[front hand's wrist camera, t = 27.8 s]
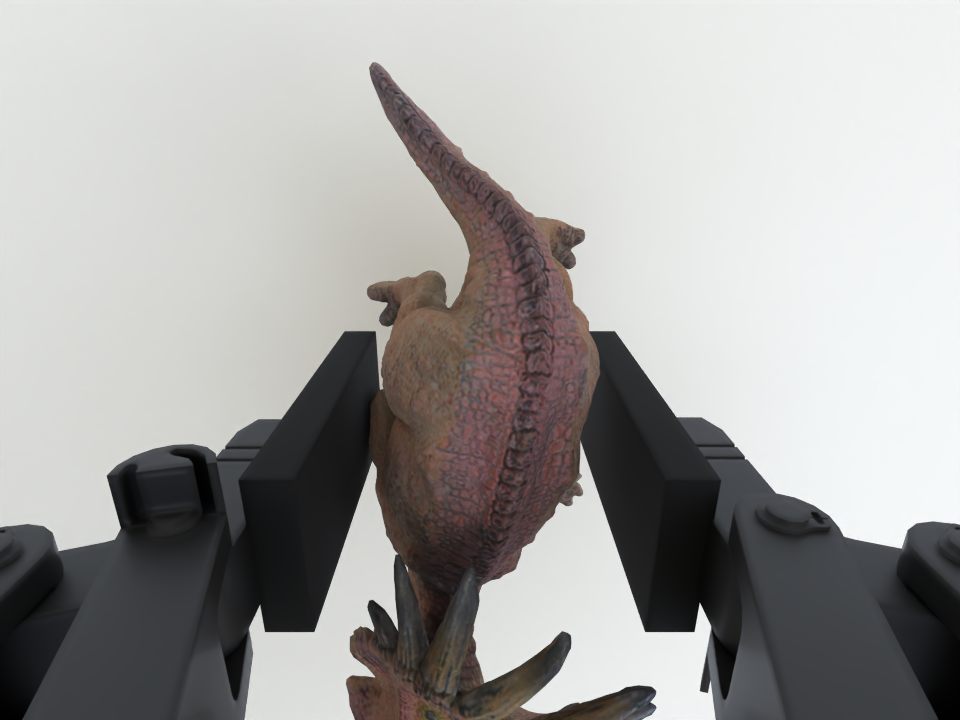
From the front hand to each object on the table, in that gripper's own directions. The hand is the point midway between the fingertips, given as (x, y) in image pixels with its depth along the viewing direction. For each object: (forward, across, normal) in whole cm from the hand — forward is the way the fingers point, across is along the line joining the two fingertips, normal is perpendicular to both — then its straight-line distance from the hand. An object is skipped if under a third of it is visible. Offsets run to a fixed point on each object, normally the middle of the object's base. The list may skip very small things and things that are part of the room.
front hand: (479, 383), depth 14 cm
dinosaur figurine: (+1, 0, 0) cm, 1 cm away
